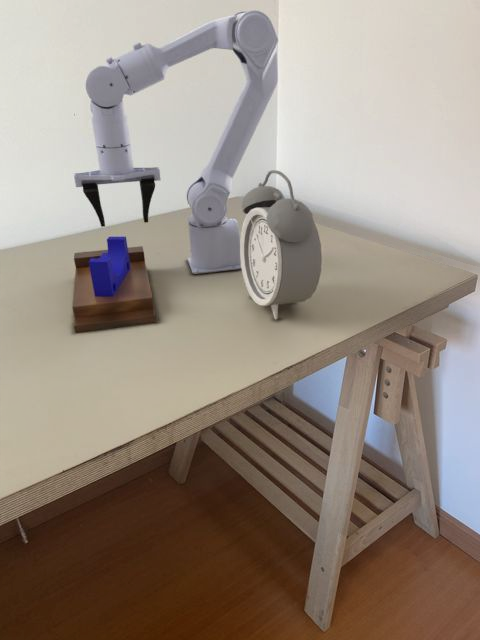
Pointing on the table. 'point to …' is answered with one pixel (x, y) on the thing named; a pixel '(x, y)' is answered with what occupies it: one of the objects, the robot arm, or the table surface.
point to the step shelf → (124, 306)
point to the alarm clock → (278, 247)
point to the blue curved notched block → (110, 267)
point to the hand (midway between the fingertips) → (124, 223)
